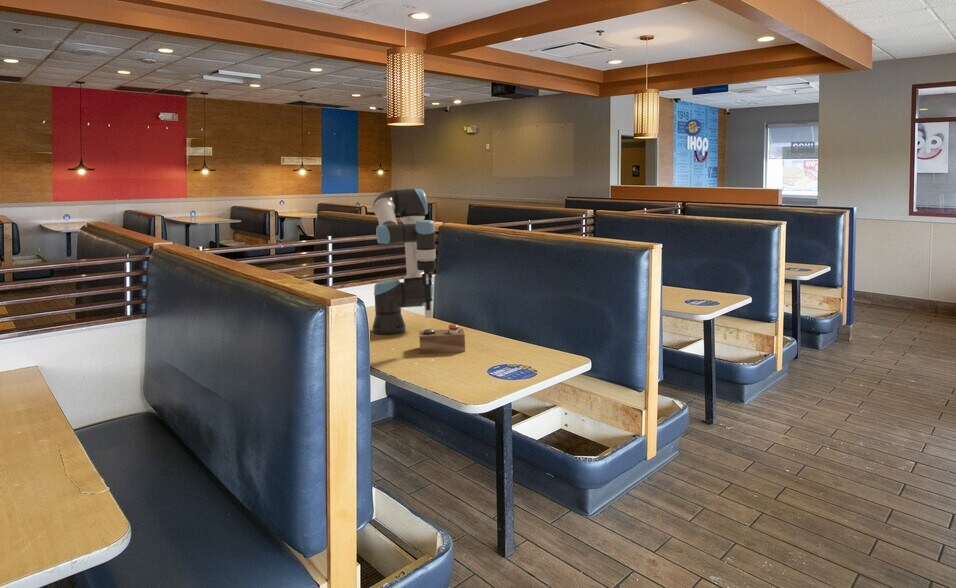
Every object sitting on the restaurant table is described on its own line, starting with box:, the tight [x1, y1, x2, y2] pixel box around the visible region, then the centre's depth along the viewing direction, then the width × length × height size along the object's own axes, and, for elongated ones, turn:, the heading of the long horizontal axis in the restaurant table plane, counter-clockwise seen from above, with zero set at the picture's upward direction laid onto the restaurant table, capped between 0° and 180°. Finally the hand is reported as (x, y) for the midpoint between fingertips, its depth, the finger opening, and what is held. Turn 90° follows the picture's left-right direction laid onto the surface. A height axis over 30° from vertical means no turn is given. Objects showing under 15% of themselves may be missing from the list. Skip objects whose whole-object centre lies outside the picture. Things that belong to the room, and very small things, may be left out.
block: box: [418, 328, 466, 355], centre depth 265 cm, size 10×18×7 cm, turn 95°
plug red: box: [448, 323, 460, 334], centre depth 265 cm, size 4×4×8 cm
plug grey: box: [423, 328, 435, 335], centre depth 264 cm, size 4×4×8 cm
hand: (428, 317), depth 263 cm, fingers closed
